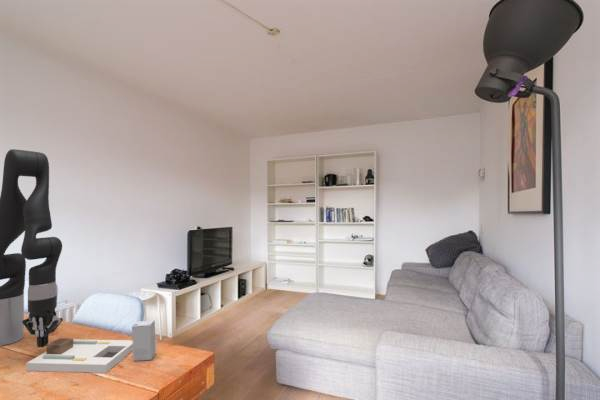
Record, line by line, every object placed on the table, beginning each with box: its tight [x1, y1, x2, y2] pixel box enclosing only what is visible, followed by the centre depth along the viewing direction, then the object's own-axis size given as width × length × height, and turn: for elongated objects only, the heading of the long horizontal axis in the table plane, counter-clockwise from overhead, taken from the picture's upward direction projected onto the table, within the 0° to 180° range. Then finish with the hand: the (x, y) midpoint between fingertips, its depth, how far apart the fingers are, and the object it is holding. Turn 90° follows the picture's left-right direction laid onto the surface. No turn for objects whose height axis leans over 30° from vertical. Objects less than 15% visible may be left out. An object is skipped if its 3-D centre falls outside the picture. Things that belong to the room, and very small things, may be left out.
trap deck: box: [25, 338, 133, 374], centre depth 101 cm, size 26×16×3 cm, turn 87°
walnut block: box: [46, 337, 74, 354], centre depth 101 cm, size 5×5×3 cm
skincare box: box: [131, 320, 157, 362], centre depth 101 cm, size 6×4×12 cm
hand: (42, 346), depth 101 cm, fingers closed
